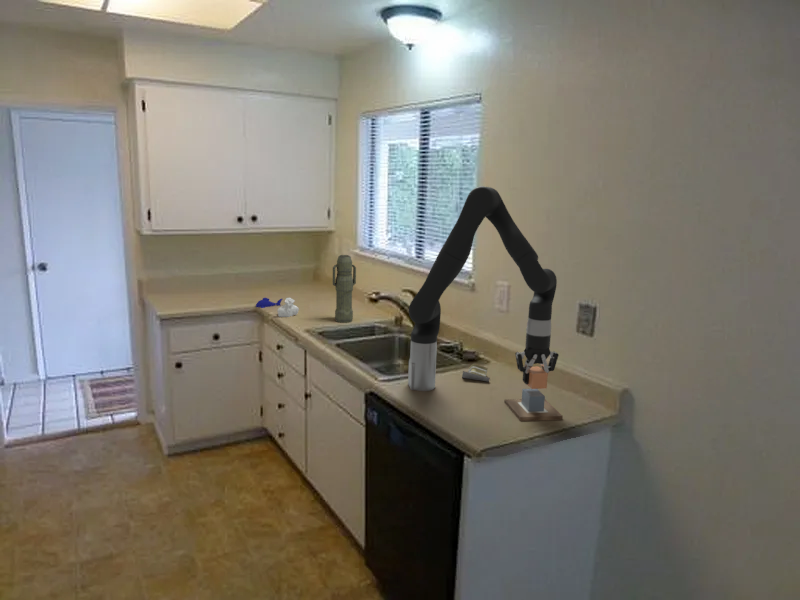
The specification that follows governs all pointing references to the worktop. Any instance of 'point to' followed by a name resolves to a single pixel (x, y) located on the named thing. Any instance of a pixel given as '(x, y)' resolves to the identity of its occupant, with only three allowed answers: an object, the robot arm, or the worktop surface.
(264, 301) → the fish toy
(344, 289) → the thermos
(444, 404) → the worktop surface
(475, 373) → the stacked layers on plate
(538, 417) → the plate
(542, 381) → the terracotta brick
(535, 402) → the slate brick
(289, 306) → the bust
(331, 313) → the worktop surface
